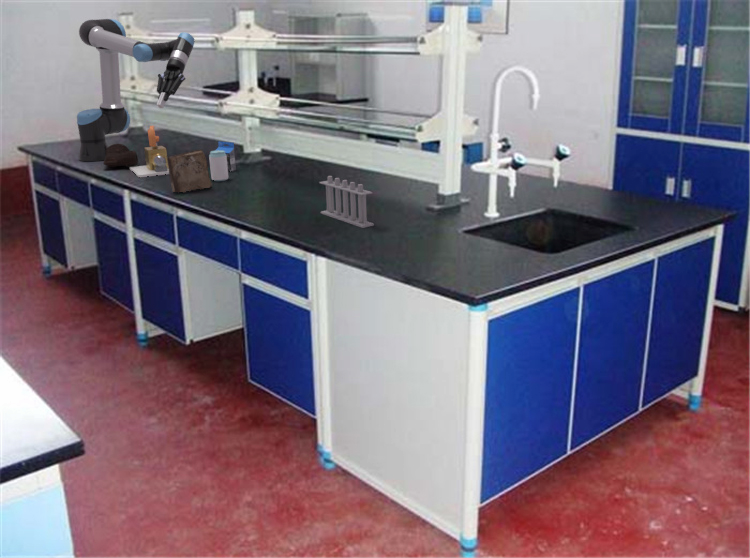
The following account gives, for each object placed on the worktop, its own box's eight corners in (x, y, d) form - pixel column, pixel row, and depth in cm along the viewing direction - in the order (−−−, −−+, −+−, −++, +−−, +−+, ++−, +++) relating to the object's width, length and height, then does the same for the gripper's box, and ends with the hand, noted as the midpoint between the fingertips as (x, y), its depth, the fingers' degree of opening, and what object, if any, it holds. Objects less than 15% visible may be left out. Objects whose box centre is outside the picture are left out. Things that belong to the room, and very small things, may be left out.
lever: (149, 140, 345) (147, 124, 342) (159, 140, 346) (157, 124, 343) (147, 146, 329) (145, 130, 327) (158, 146, 330) (156, 129, 328)
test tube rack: (373, 225, 249) (372, 185, 245) (362, 228, 247) (361, 187, 242) (331, 211, 268) (329, 173, 264) (320, 213, 266) (318, 175, 262)
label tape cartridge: (214, 170, 343) (212, 142, 339) (220, 168, 347) (217, 141, 343) (231, 171, 339) (228, 143, 335) (236, 170, 343) (234, 142, 339)
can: (228, 177, 327) (226, 149, 323) (228, 181, 321) (225, 152, 317) (211, 178, 326) (209, 150, 322) (211, 182, 320) (208, 153, 316)
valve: (144, 165, 354) (140, 140, 350) (161, 163, 357) (158, 138, 353) (153, 172, 337) (149, 146, 333) (171, 170, 340) (168, 144, 336)
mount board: (129, 169, 352) (129, 167, 351) (176, 164, 360) (175, 162, 360) (139, 177, 333) (138, 175, 333) (187, 172, 342) (187, 169, 341)
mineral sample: (209, 186, 312) (205, 148, 307) (214, 188, 309) (210, 150, 304) (169, 192, 303) (165, 154, 298) (173, 194, 300) (169, 155, 295)
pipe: (133, 150, 348) (136, 140, 361) (99, 154, 346) (103, 145, 359) (138, 170, 352) (141, 160, 365) (104, 175, 350) (108, 165, 364)
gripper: (193, 69, 345) (177, 112, 336) (168, 69, 349) (150, 111, 340) (186, 57, 339) (169, 101, 330) (160, 57, 343) (142, 100, 334)
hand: (159, 106), depth 335 cm, fingers closed
